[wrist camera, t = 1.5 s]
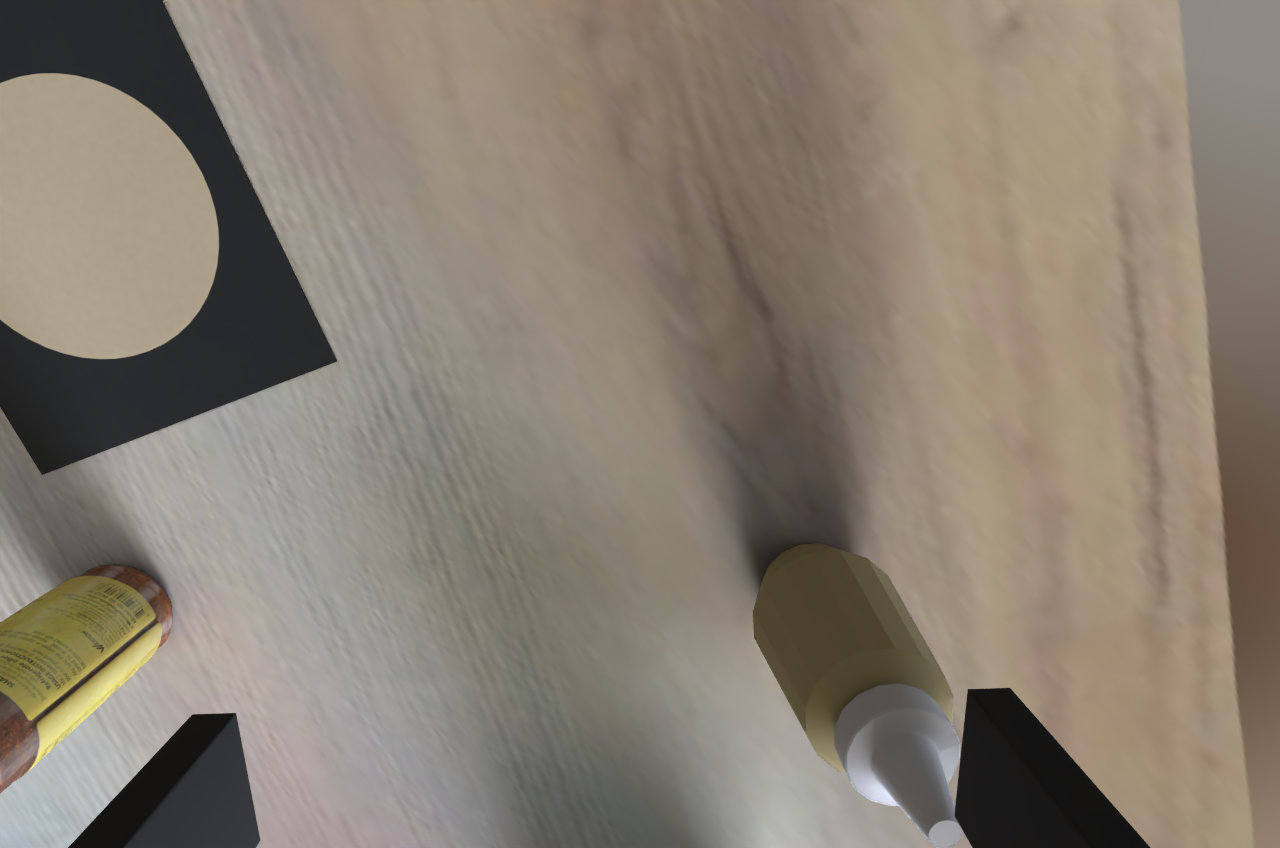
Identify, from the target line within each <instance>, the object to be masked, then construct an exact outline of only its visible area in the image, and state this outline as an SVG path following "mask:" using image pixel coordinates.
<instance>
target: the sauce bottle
mask: <svg viewBox="0 0 1280 848" xmlns="http://www.w3.org/2000/svg"><path fill="white" fill-rule="evenodd" d="M171 627H172V605H171V601H170V599H169V598H168V595H167V594H166V593H165V590H164V589H162V588H161V586H160V585H158V584H157V583H156V582H155V581H154V579H153V578H151V577H150V576H149V575H147V574H144V573H143V572H142V571H138V570H136V569H134V568H132V567H128V566H120V565H104V566H99V567H95V568H92V569H89V570H88V571H86V572H85V573H83V574H81V575H80V576H78V577H76V578H72V579H69V580H67V581H65V582H63V583H61V584H60V585H58V586H57V587H55V588H54V589H52V590H50V591H49V592H47V593H46V594H44V595H43V596H41V597H39V598H38V599H36V600H35V601H33V602H32V603H30V604H28V605H27V606H25V607H24V608H22V609H21V610H19V611H18V612H16V613H15V614H13V615H12V616H10V617H9V618H7V619H5V620H4V621H2V622H1V623H0V793H1V792H2V791H4V789H6V788H7V787H8V786H9V785H11V783H12V782H14V781H16V780H17V779H19V778H20V777H22V776H23V775H24V774H26V773H27V772H28V771H29V770H30V769H31V768H32V767H33V766H35V765H36V764H37V763H38V762H39V761H40V760H41V759H42V758H43V757H44V756H45V755H46V754H48V753H49V752H50V751H51V750H52V749H53V748H54V747H55V746H56V745H57V744H59V743H60V742H61V741H62V740H63V739H64V738H65V737H66V736H67V735H68V734H69V733H70V732H72V731H73V730H74V729H75V728H76V727H77V726H78V725H79V724H80V723H81V722H82V721H84V720H85V719H86V718H87V717H88V716H89V715H90V714H91V713H92V712H93V711H94V710H95V709H97V708H98V707H99V706H100V705H101V704H102V703H103V702H104V701H105V700H106V699H107V698H108V697H109V696H110V695H112V694H113V693H114V692H115V691H116V690H117V689H118V688H119V687H120V686H121V685H122V684H123V683H124V682H126V681H127V680H128V679H129V678H130V677H131V676H132V675H133V674H134V673H135V672H136V671H137V670H138V669H140V668H141V667H142V666H143V665H144V664H145V663H146V662H147V661H148V660H149V659H150V658H151V657H152V656H153V655H154V653H155V652H156V650H157V649H158V648H159V647H160V646H161V645H162V644H163V643H164V642H165V641H166V640H167V638H168V636H169V634H170V630H171Z"/></svg>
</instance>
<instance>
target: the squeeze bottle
mask: <svg viewBox="0 0 1280 848" xmlns="http://www.w3.org/2000/svg"><path fill="white" fill-rule="evenodd" d="M753 623H754V638H755V640H756V642H757V644H758V646H759V648H760V650H761V652H762V653H763V655H764V657H765V659H766V661H767V663H768V665H769V667H770V668H771V670H772V672H773V674H774V676H775V678H776V680H777V681H778V683H779V685H780V687H781V689H782V691H783V693H784V694H785V696H786V698H787V700H788V702H789V704H790V706H791V707H792V709H793V711H794V713H795V715H796V717H797V718H798V720H799V722H800V724H801V726H802V728H803V730H804V731H805V733H806V735H807V737H808V739H809V741H810V743H811V744H812V746H813V748H814V750H815V752H816V754H817V755H818V756H819V757H820V758H821V759H823V760H824V761H825V762H827V763H828V764H829V765H831V766H832V767H833V768H835V769H836V770H837V771H839V772H843V773H846V774H847V776H848V778H849V780H850V782H851V784H852V786H853V788H854V789H855V790H857V791H858V792H859V793H861V794H862V795H863V796H865V797H866V798H867V799H869V800H870V801H874V802H878V803H881V804H885V805H889V806H898V805H899V806H900V807H901V809H902V810H903V811H904V812H905V813H906V815H907V816H908V817H909V818H910V819H911V820H912V822H913V823H914V824H915V825H916V826H917V827H918V829H919V830H920V831H921V832H922V833H923V835H924V836H925V837H926V838H927V839H928V840H929V842H930V843H931V844H933V845H934V846H935V847H938V848H949V847H952V846H954V845H955V844H956V843H958V842H959V841H960V839H961V837H962V828H961V827H960V825H959V823H958V821H957V820H956V818H955V816H954V815H955V805H954V802H953V799H952V795H951V792H950V789H949V786H948V782H949V781H950V780H951V778H952V776H953V774H954V772H955V770H956V768H957V766H958V764H959V762H960V740H959V738H958V736H957V734H956V731H955V729H954V727H953V725H952V719H953V694H952V692H951V690H950V687H949V685H948V683H947V681H946V679H945V676H944V674H943V672H942V670H941V669H940V667H939V665H938V663H937V662H936V660H935V658H934V656H933V654H932V653H931V651H930V649H929V647H928V646H927V644H926V642H925V640H924V639H923V637H922V635H921V633H920V631H919V630H918V628H917V626H916V624H915V623H914V621H913V619H912V617H911V616H910V614H909V612H908V610H907V608H906V607H905V605H904V603H903V601H902V600H901V598H900V596H899V594H898V593H897V591H896V589H895V587H894V585H893V584H892V582H891V580H890V578H889V577H888V575H886V574H885V573H884V572H883V571H882V570H881V569H879V568H878V567H877V566H876V565H875V564H873V563H872V562H871V561H870V560H869V559H868V558H865V557H862V556H858V555H855V554H852V553H849V552H846V551H843V550H840V549H837V548H834V547H830V546H827V545H824V544H820V543H813V544H800V545H797V546H795V547H793V548H791V549H789V550H786V551H784V552H782V553H781V554H780V555H779V556H778V557H777V558H776V559H775V560H774V561H773V562H772V563H771V564H770V565H769V566H768V567H767V570H766V572H765V575H764V577H763V580H762V582H761V585H760V589H759V592H758V596H757V599H756V603H755V606H754V610H753Z"/></svg>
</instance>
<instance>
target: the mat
mask: <svg viewBox="0 0 1280 848" xmlns="http://www.w3.org/2000/svg"><path fill="white" fill-rule="evenodd" d="M336 361H337V360H336V358H335V356H334V354H333V352H332V350H331V348H330V346H329V344H328V342H327V340H326V338H325V336H324V334H323V332H322V329H321V327H320V325H319V323H318V321H317V319H316V317H315V315H314V313H313V311H312V309H311V307H310V305H309V303H308V301H307V299H306V296H305V294H304V292H303V290H302V288H301V286H300V284H299V282H298V280H297V278H296V276H295V274H294V272H293V270H292V268H291V266H290V264H289V261H288V259H287V257H286V255H285V253H284V251H283V249H282V247H281V245H280V243H279V241H278V239H277V237H276V235H275V233H274V231H273V228H272V226H271V224H270V222H269V220H268V218H267V216H266V214H265V212H264V210H263V208H262V206H261V204H260V202H259V200H258V198H257V196H256V193H255V191H254V189H253V187H252V185H251V183H250V181H249V179H248V177H247V175H246V173H245V171H244V169H243V167H242V165H241V163H240V160H239V158H238V156H237V154H236V152H235V150H234V148H233V146H232V144H231V142H230V140H229V138H228V136H227V134H226V132H225V130H224V128H223V125H222V123H221V121H220V119H219V117H218V115H217V113H216V111H215V109H214V107H213V105H212V103H211V101H210V99H209V97H208V95H207V92H206V90H205V88H204V86H203V84H202V82H201V80H200V78H199V76H198V74H197V72H196V70H195V68H194V66H193V64H192V62H191V60H190V57H189V55H188V53H187V51H186V49H185V47H184V45H183V43H182V41H181V39H180V37H179V35H178V33H177V31H176V29H175V27H174V24H173V22H172V20H171V18H170V16H169V14H168V12H167V10H166V8H165V6H164V4H163V2H162V0H0V407H1V409H2V411H3V412H4V414H5V416H6V417H7V419H8V420H9V422H10V424H11V425H12V427H13V428H14V430H15V432H16V433H17V435H18V437H19V438H20V440H21V441H22V443H23V445H24V446H25V448H26V450H27V451H28V453H29V454H30V456H31V458H32V459H33V461H34V463H35V464H36V466H37V467H38V469H39V471H40V472H41V474H42V475H43V474H45V473H48V472H51V471H53V470H56V469H58V468H61V467H64V466H66V465H69V464H71V463H74V462H77V461H79V460H82V459H84V458H87V457H90V456H92V455H95V454H97V453H100V452H103V451H105V450H108V449H110V448H113V447H116V446H118V445H121V444H123V443H126V442H129V441H131V440H134V439H136V438H139V437H142V436H144V435H147V434H149V433H152V432H155V431H157V430H160V429H162V428H165V427H168V426H170V425H173V424H175V423H178V422H181V421H183V420H186V419H188V418H191V417H193V416H196V415H199V414H201V413H204V412H206V411H209V410H212V409H214V408H217V407H219V406H222V405H225V404H227V403H230V402H232V401H235V400H238V399H240V398H243V397H245V396H248V395H251V394H253V393H256V392H258V391H261V390H264V389H266V388H269V387H271V386H274V385H277V384H279V383H282V382H284V381H287V380H290V379H292V378H295V377H297V376H300V375H303V374H305V373H308V372H310V371H313V370H316V369H318V368H321V367H323V366H326V365H329V364H331V363H334V362H336Z"/></svg>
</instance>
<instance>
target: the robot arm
mask: <svg viewBox="0 0 1280 848" xmlns="http://www.w3.org/2000/svg"><path fill="white" fill-rule="evenodd" d="M954 816H955V818H956V820H957V821H958V823H959V825H960V827H961V828H962V830H963V832H964V833H965V835H966V837H967V839H968V840H969V842H970V844H971V846H972V847H973V848H1150V847H1149V846H1148V844H1147V843H1146V842H1145V841H1144V840H1143V839H1142V838H1141V836H1140V835H1139V834H1138V833H1137V832H1136V831H1135V830H1134V829H1133V827H1132V826H1131V825H1130V824H1129V823H1128V822H1127V821H1126V819H1125V818H1124V817H1123V816H1122V815H1121V814H1120V813H1119V811H1118V810H1117V809H1116V808H1115V807H1114V806H1113V805H1112V803H1111V802H1110V801H1109V800H1108V799H1107V798H1106V797H1105V796H1104V794H1103V793H1102V792H1101V791H1100V790H1099V789H1098V788H1097V786H1096V785H1095V784H1094V783H1093V782H1092V781H1091V780H1090V778H1089V777H1088V776H1087V775H1086V774H1085V773H1084V772H1083V770H1082V769H1081V768H1080V767H1079V766H1078V765H1077V764H1076V763H1075V761H1074V760H1073V759H1072V758H1071V757H1070V756H1069V755H1068V753H1067V752H1066V751H1065V750H1064V749H1063V748H1062V747H1061V745H1060V744H1059V743H1058V742H1057V741H1056V740H1055V739H1054V737H1053V736H1052V735H1051V734H1050V733H1049V732H1048V731H1047V730H1046V728H1045V727H1044V726H1043V725H1042V724H1041V723H1040V722H1039V720H1038V719H1037V718H1036V717H1035V716H1034V715H1033V714H1032V712H1031V711H1030V710H1029V709H1028V708H1027V707H1026V706H1025V705H1024V703H1023V702H1022V701H1021V700H1020V699H1019V698H1018V697H1017V695H1016V694H1015V693H1014V692H1013V691H1012V690H1011V689H1010V688H995V689H968V694H967V703H966V712H965V722H964V731H963V740H962V750H961V759H960V768H959V778H958V787H957V796H956V806H955V815H954ZM259 842H260V837H259V831H258V826H257V821H256V816H255V810H254V805H253V800H252V795H251V790H250V784H249V779H248V774H247V769H246V763H245V758H244V753H243V748H242V743H241V737H240V732H239V727H238V722H237V716H236V713H225V714H194V715H192V716H191V717H190V718H189V719H188V720H187V721H186V722H185V723H184V724H183V725H182V726H181V727H180V728H179V730H178V731H177V732H176V733H175V734H174V735H173V736H172V737H171V738H170V739H169V740H168V741H167V742H166V743H165V744H164V746H163V747H162V748H161V749H160V750H159V751H158V752H157V753H156V754H155V755H154V756H153V757H152V758H151V759H150V761H149V762H148V763H147V764H146V765H145V766H144V767H143V768H142V769H141V770H140V771H139V772H138V773H137V774H136V776H135V777H134V778H133V779H132V780H131V781H130V782H129V783H128V784H127V785H126V786H125V787H124V788H123V789H122V791H121V792H120V793H119V794H118V795H117V796H116V797H115V798H114V799H113V800H112V801H111V802H110V803H109V804H108V806H107V807H106V808H105V809H104V810H103V811H102V812H101V813H100V814H99V815H98V816H97V817H96V818H95V819H94V821H93V822H92V823H91V824H90V825H89V826H88V827H87V828H86V829H85V830H84V831H83V832H82V833H81V834H80V835H79V837H78V838H77V839H76V840H75V841H74V842H73V843H72V844H71V845H70V846H69V847H68V848H256V846H257V845H258V843H259Z"/></svg>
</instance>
